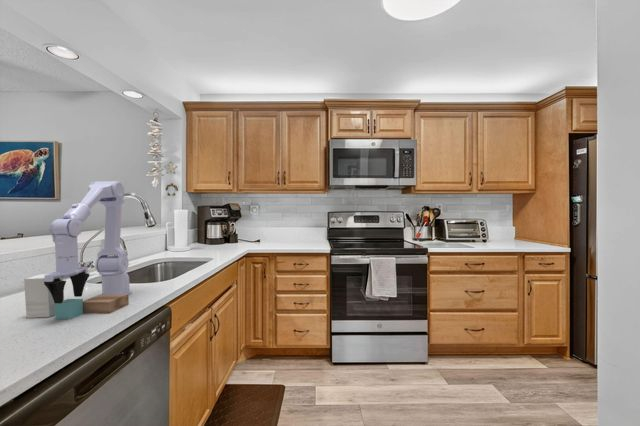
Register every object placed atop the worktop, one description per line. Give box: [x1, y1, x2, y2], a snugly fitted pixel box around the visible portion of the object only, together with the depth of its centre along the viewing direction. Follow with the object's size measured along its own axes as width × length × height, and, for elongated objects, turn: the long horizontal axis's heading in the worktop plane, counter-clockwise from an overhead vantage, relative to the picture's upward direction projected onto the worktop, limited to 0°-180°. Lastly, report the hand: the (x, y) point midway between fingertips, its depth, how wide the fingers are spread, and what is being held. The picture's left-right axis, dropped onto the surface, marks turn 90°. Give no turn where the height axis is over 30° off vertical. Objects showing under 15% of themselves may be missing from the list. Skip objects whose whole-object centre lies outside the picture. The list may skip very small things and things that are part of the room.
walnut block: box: [82, 293, 130, 315], centre depth 117 cm, size 10×10×4 cm
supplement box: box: [23, 273, 65, 319], centre depth 113 cm, size 7×7×13 cm
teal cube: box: [54, 298, 84, 320], centre depth 110 cm, size 5×5×5 cm
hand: (68, 299), depth 110 cm, fingers open, 7 cm apart
